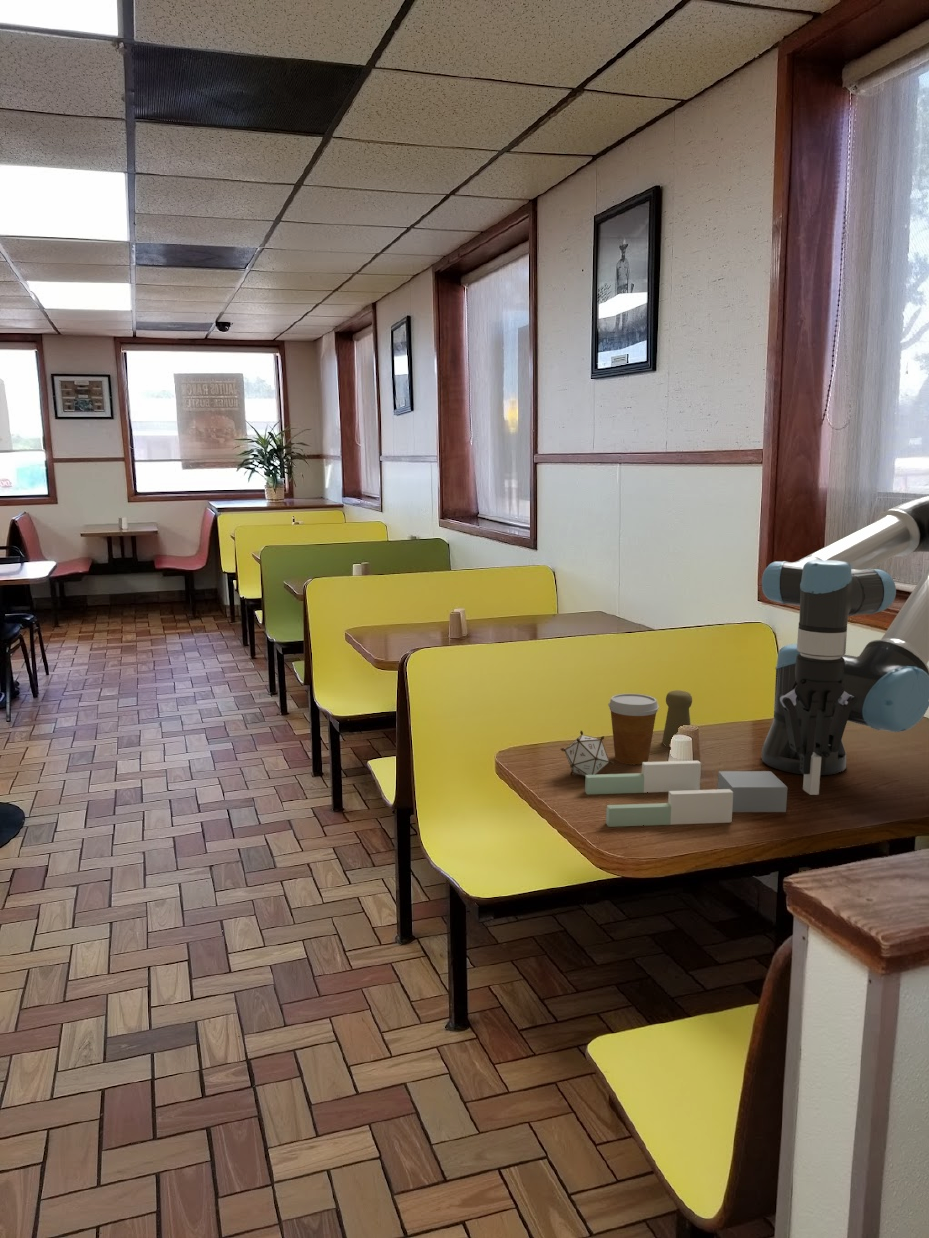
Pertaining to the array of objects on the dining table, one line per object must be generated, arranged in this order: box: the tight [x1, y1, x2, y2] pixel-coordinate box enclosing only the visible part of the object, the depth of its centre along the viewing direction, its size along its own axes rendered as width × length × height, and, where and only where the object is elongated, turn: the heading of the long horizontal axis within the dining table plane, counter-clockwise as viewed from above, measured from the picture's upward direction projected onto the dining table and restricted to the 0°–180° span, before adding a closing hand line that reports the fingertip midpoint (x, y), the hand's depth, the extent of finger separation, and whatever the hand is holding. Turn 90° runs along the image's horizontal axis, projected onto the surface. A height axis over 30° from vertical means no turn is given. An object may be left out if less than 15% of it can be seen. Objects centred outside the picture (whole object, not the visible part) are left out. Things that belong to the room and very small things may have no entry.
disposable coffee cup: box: [607, 693, 660, 766], centre depth 178 cm, size 10×10×12 cm
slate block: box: [717, 770, 788, 813], centre depth 156 cm, size 9×8×4 cm
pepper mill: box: [661, 689, 693, 748], centre depth 188 cm, size 6×6×11 cm
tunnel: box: [584, 760, 733, 828], centre depth 154 cm, size 20×16×5 cm
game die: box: [560, 730, 614, 777], centre depth 168 cm, size 9×8×10 cm
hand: (810, 791), depth 157 cm, fingers closed
